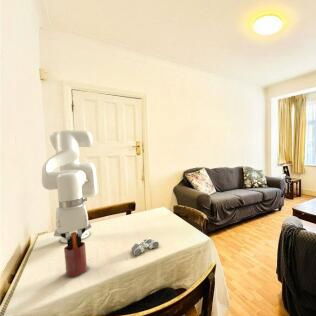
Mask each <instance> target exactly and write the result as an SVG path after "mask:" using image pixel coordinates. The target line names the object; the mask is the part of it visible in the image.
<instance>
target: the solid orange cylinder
mask: <svg viewBox="0 0 316 316" xmlns="http://www.w3.org/2000/svg"><path fill="white" fill-rule="evenodd" d="M71 238H72V250H73V249H76V248H78V246H77V233H76V232H74V233H71Z"/></svg>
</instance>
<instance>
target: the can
mask: <svg viewBox="0 0 316 316" xmlns="http://www.w3.org/2000/svg"><path fill="white" fill-rule="evenodd" d="M63 251H64V263H65V264H64V265H65V273H66V277H67V278H75V277H78V276H80V275H83V274H84V273H86V271H87V270H88V265H87V253H86V243H85V241H81V243H80V246H78V248H76V249H73V250H72V248H70V246H68V245H66V246H65V247H64V248H63Z"/></svg>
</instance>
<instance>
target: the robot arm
mask: <svg viewBox="0 0 316 316" xmlns="http://www.w3.org/2000/svg"><path fill="white" fill-rule="evenodd" d="M49 140H50V143H51V145H52V147H53V149H54V151H55V154H53V155H51V156H50V157H49V158H48V159H47V160H46V161H44V163H43V165H42V167H41V168H42V169H41V184H42V187H43V188H44V189H46V190H50V191H52V190H57V198H58V207H57V208H56V211H55V230H54V232H53V237H60V242H61V243H64V244H65V243H66V244H67V246H70V248H72V238H71V233H74V232H76V233H77V246H80V243H81V242H82V240H84V239H86V238H87V237H88V236H89V235H90V231H88V230H89V229H91V228H92V225H91V223H90V222H89V216H88V209H87V206H86V203H85V202H87V201H88V198H93V197H96V196H98V189H99V188H98V179H97V169H96V166H95V163H93V162H89V161H88V162H80V148H90V147H92V146H93V143H94V138H93V135H92V133H91V132H90V131H88V130H68V129H67V130H61V131H53V132H51V133H50V135H49ZM58 168H59V170H56V169H58ZM55 170H56V171H55Z"/></svg>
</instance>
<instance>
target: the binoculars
mask: <svg viewBox="0 0 316 316" xmlns="http://www.w3.org/2000/svg"><path fill="white" fill-rule="evenodd" d="M159 245H160V242H159V241H157V240H154V239H152V238H151V237H148V238H147V239H144V240H142V241H141V242H140V243H138V242H135V243H134V244H133V245H132V246H131V248H130V249H131V251H132V252H133V254H134V255H135V256H139V255H141V253H143V252H144V251H145V248H149V249H151V250H152V249H155V248H158V247H159Z"/></svg>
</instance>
